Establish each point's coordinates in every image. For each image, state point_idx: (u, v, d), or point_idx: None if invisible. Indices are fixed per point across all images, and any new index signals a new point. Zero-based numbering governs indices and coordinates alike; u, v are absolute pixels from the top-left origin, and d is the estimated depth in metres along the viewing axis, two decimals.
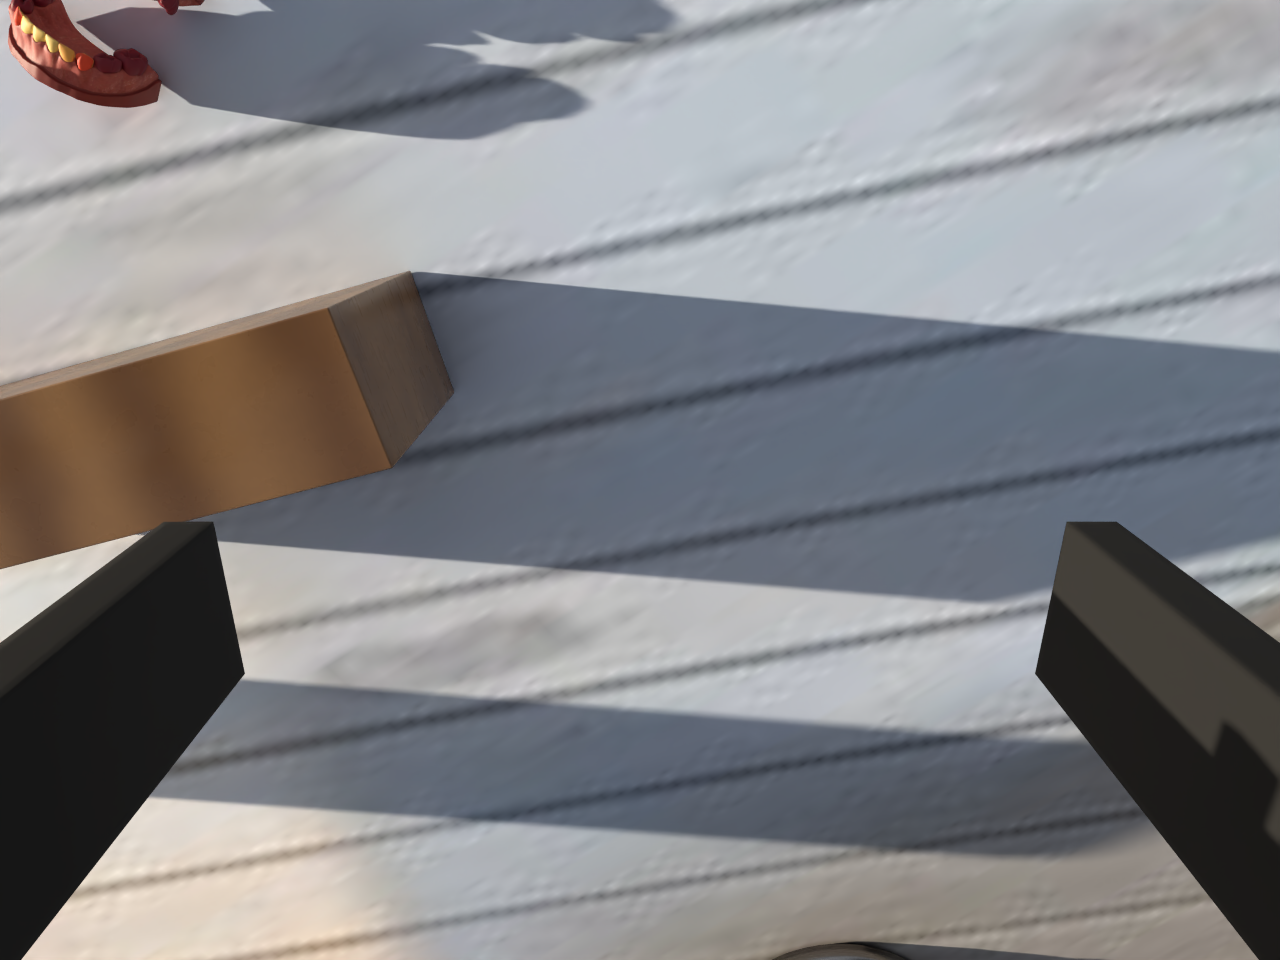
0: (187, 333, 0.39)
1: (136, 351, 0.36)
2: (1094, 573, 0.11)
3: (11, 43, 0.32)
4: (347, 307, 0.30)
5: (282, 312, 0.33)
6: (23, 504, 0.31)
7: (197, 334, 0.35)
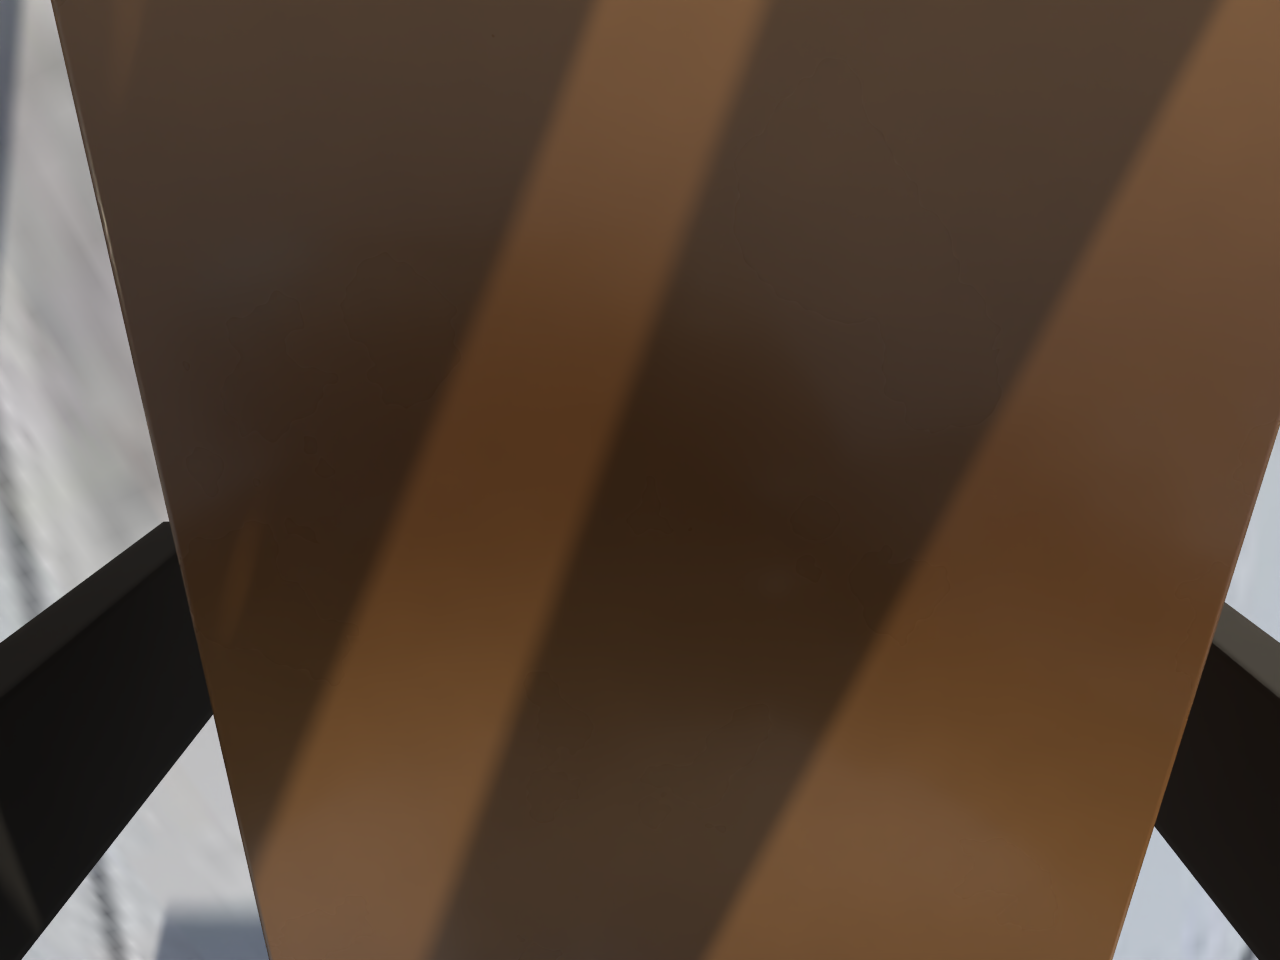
0: None
1: None
2: None
3: None
4: None
5: None
6: None
7: None
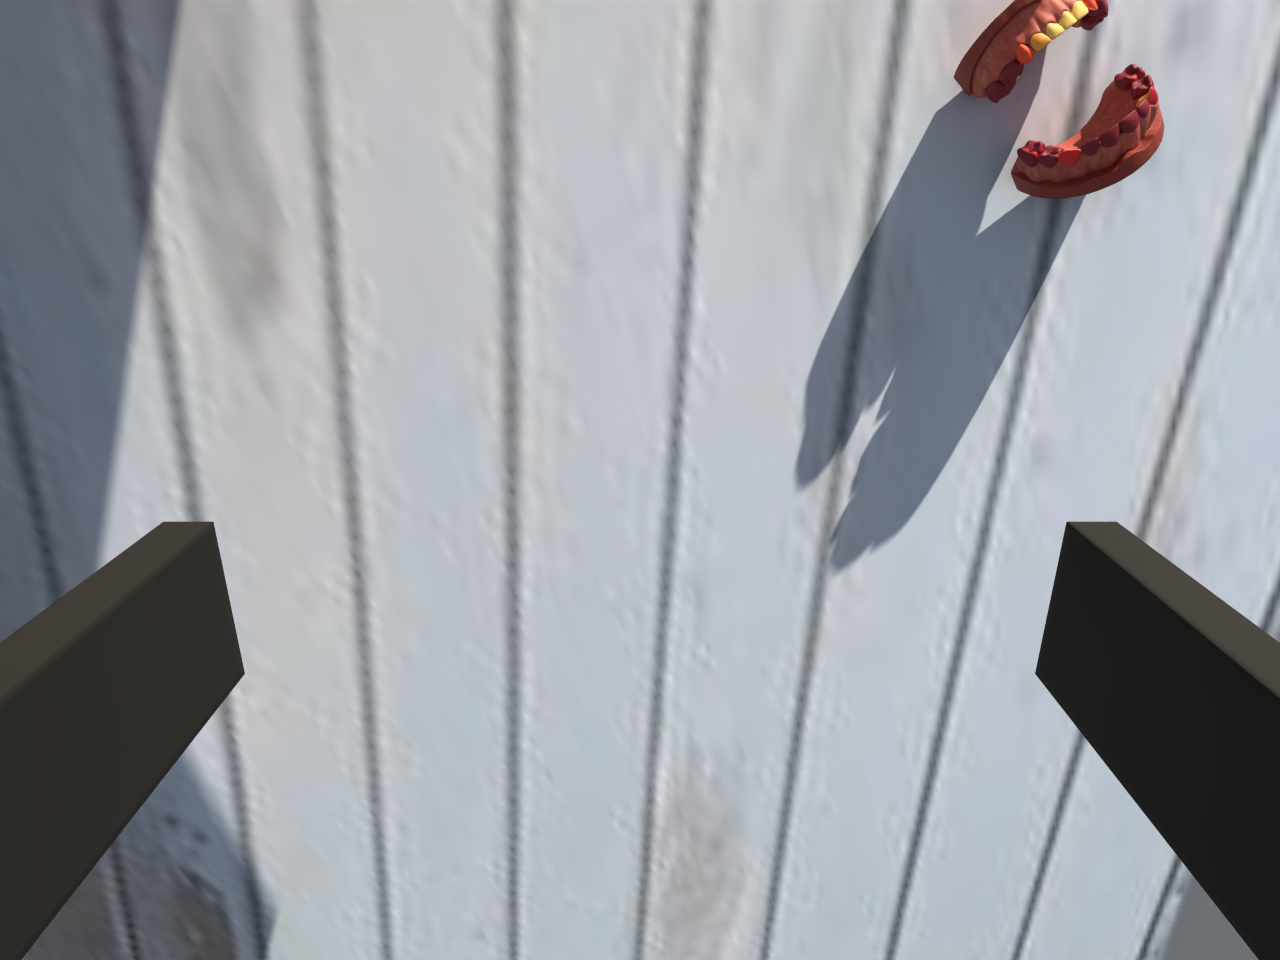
0: None
1: None
2: (1094, 573, 0.11)
3: None
4: None
5: None
6: None
7: None
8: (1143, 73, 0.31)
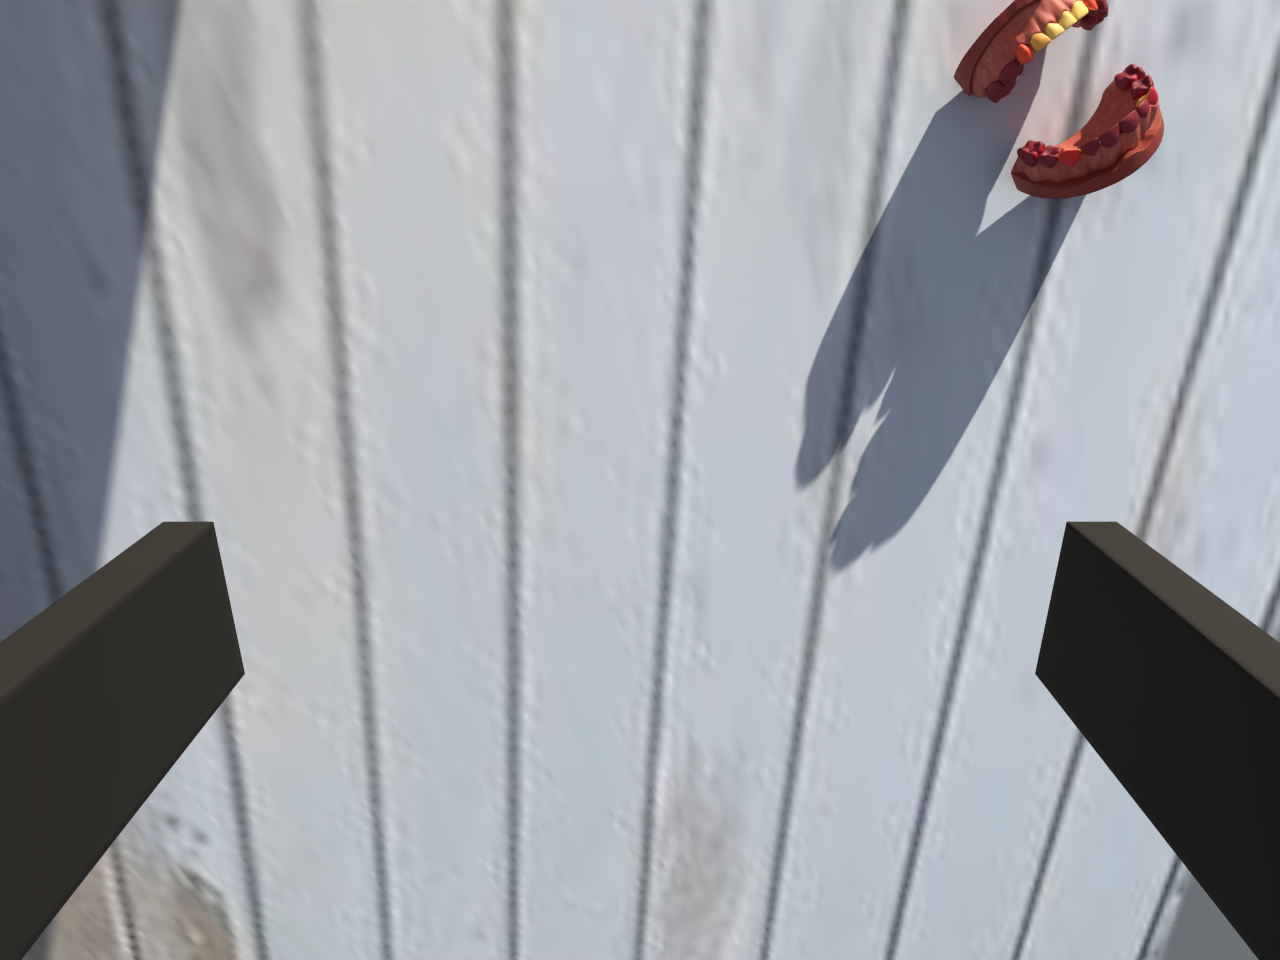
0: None
1: None
2: (1094, 573, 0.11)
3: None
4: None
5: None
6: None
7: None
8: (1143, 73, 0.31)
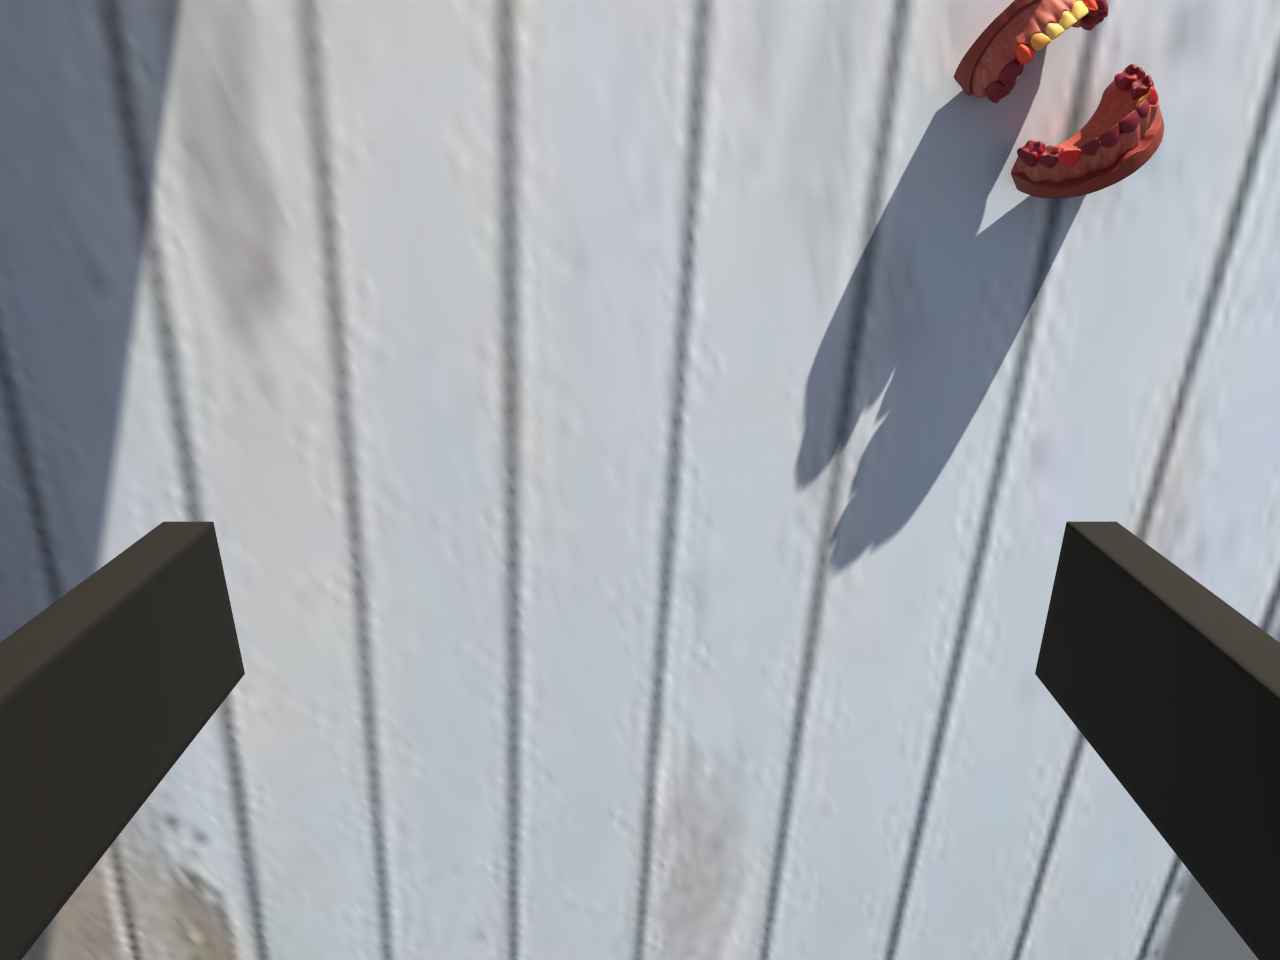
0: None
1: None
2: (1094, 573, 0.11)
3: None
4: None
5: None
6: None
7: None
8: (1143, 73, 0.31)
